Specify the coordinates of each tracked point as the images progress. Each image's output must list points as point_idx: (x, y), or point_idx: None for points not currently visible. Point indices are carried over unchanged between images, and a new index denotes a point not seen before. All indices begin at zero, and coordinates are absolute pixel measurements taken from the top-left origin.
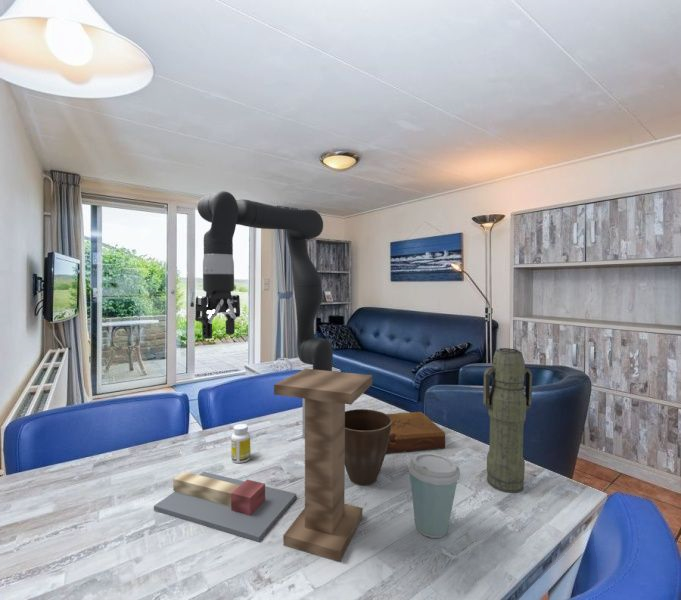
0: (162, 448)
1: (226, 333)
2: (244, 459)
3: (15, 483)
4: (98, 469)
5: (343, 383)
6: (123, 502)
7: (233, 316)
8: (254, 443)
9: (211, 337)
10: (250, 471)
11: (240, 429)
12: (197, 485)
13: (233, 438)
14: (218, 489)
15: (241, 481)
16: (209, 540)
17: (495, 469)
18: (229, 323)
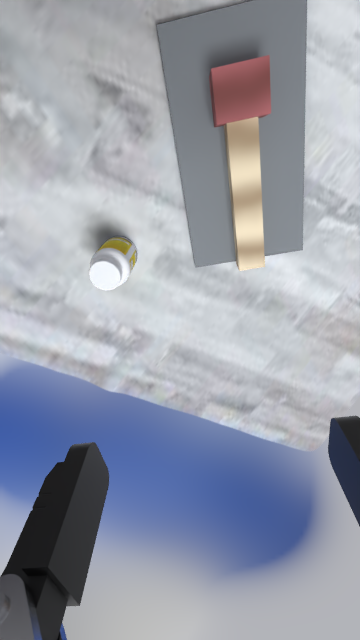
0: (173, 383)
1: (108, 476)
2: (124, 238)
3: (319, 435)
4: (257, 397)
5: None
6: (301, 301)
7: (10, 630)
8: (63, 277)
9: (345, 418)
10: (140, 202)
11: (114, 265)
12: (262, 212)
13: (129, 270)
14: (257, 162)
15: (183, 179)
16: (329, 93)
17: None
18: (74, 547)
